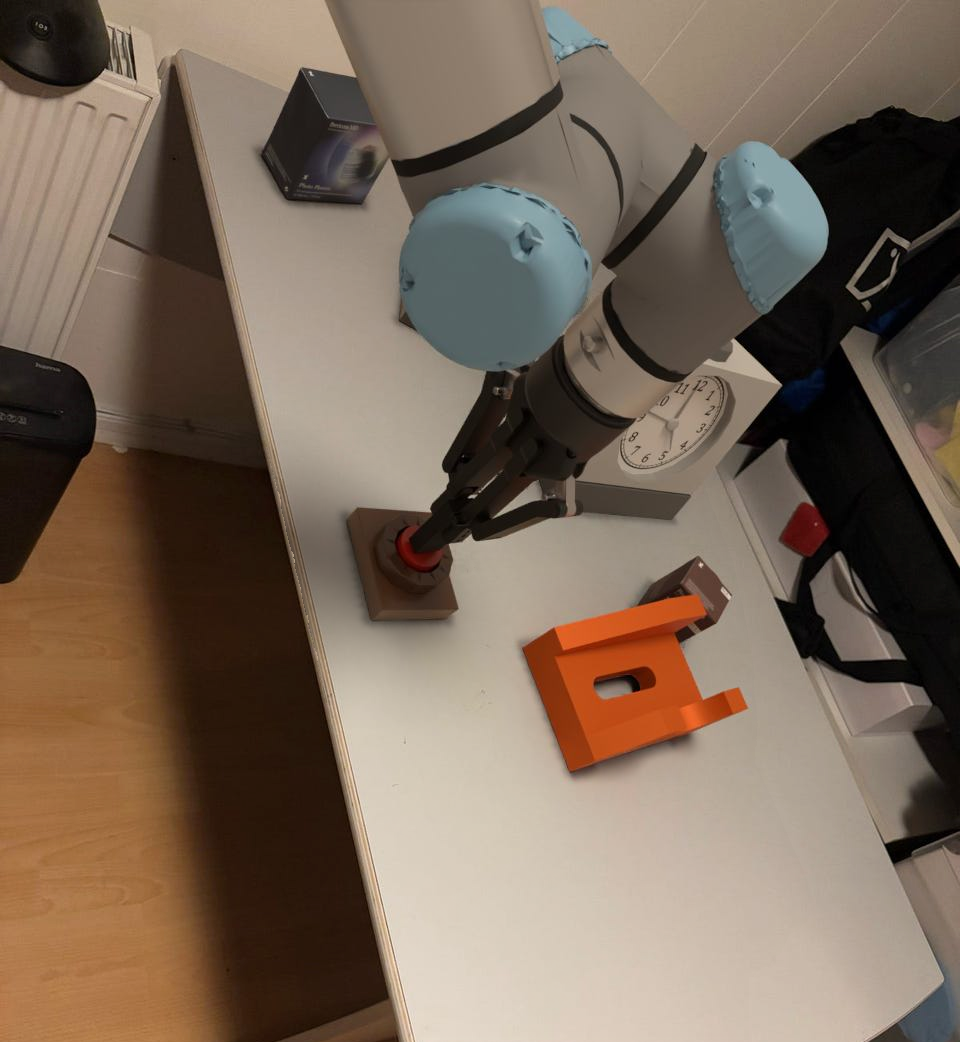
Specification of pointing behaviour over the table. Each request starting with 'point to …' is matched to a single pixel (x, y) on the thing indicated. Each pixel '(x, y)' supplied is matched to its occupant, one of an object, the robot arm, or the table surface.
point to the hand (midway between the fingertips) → (424, 544)
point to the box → (691, 582)
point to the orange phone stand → (616, 650)
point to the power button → (412, 560)
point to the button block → (398, 568)
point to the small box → (325, 140)
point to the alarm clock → (677, 439)
